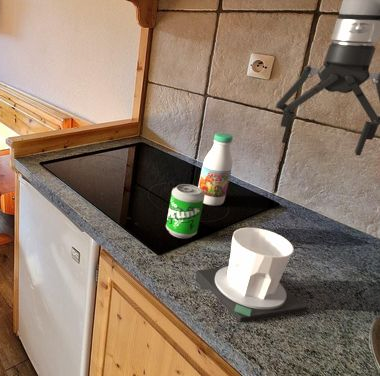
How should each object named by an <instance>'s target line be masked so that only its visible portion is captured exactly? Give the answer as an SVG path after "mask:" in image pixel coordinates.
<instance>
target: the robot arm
mask: <svg viewBox="0 0 380 376" xmlns="http://www.w3.org/2000/svg"><path fill="white" fill-rule="evenodd" d="M330 39H331V40H332V43H330V44H329V45H328V47H327V51H326V55H325V58H324V61H323V63H322V66H321V67H320V68H318V67H313V66H312V65H310V64H309V65H308V64H307V65H306V66H304V69H303V71H302V73H301V75H300V77H299V78H298V79H297V80H296V81H295V82H294V83H293V84H292V85H291V86H290V88H289V89H288V90H287V91H286V92H285V93H284V94H283V95H282V97H281V98H280V99H279V100H278V101H277V102H276V105H275V108H276V109H278V110H281V111H282V112H283V114H282V117H281V121H280V127H281V128H285V129H284V133H283V135H282V140H281V143H282V144H286V142H287V140H288V136H289V132H290V128H291V126H292V121H293V118H294V115H295V111H294V110H295V109H296V108H298V107H299V106H301V105H302V104H304V103H305V102H307V101H308V100H310V99H311V98H313V97H314V96H315V95H317V94H318V93H320V92H321V91H323V90H326V91H328V92H331V93H334V92H335V93H336V92H339V93H341V94H349V93H351V92H353V94H354V96H355V97H356V98H357V100H358V102H359V103H360V105H361V107H362V108H363V110H364V112H365V113H366V115H367V117H368V119H369V120H370V121H367V120H365V123H364V125H363V128H362V131H361V134H360V136H359V139H358V142H357V145H356V148H355V150H354V153H355V154H354V155H355V156H361V154H362V152H363V150H364V147H365V144H366V141H367V140H368V141H372V140H373V139H374V138H375V135H376V133H377V130H378V128H379V126H380V115H378V114H377V113H376V111H375V110H374V108H373V106H372V104H371V103H370V101H369V99H368V98H367V96H366V94H365V93H364V92H363V90H362V88H361V85H362V84H364V83H365V82H366V81H368V80H371V83H372V84H373V85H375V87H376V93H377V97H378V101H379V102H380V71H379V72H370V66H371V63H372V60H373V57H374V55H375V51H376V46H375V45H374V44H377V43H378V42H379V40H380V0H342V2H341V4H340V9H339V12H338V16H337V18H336V21H335V25H334V28H333V31H332V35H331V38H330ZM314 75H318V78H319V80H320V81H319V82H318V83H316V84H315V85H314V86H313V87H311V88H310V89H309V90H307V91H305V92H304V93H303V94H301V95H300V96H298V97H297V98H296V99H294V100H293V101H292V102H290V103H288V101H289V100H290V99H291V98H292V97H293V96H294V94H295V93H296V92H297V91H298V90H299V89H300V88H301V87H302V86H303V85H304V84H305V82H306V81H307V80H308V79H311V78H313V77H314ZM287 103H288V104H287Z"/></svg>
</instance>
